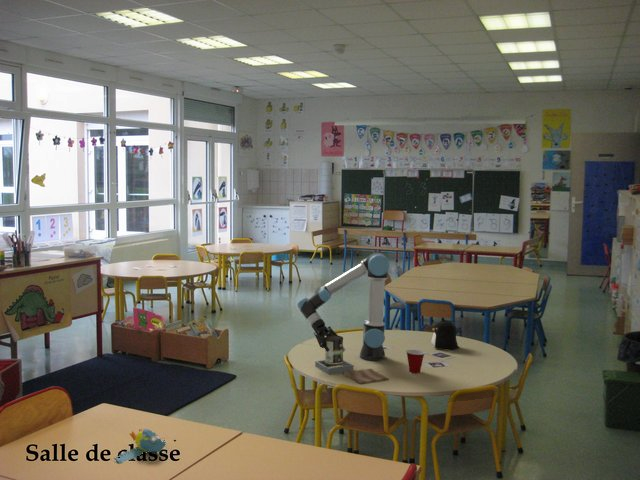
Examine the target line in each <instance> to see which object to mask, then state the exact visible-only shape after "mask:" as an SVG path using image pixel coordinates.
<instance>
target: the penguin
mask: <svg viewBox="0 0 640 480" xmlns="http://www.w3.org/2000/svg"><path fill="white" fill-rule="evenodd" d="M452 322H453V321H451V320H447V319H446V320H445V319H444V320H443V319H442V320H441V321H439V322H437V323H435V325H434V326H433V328H432V329H431V330H432V331H433V334H432V338H431V341H430V342H431V345H432V346H433V347H434V348H435V347H436V349H437V348H439V349H438V350H445V349H451V350H455V349H459V348H460V346H459V345H458V341H457V332H458V331H457V327H456V325H454V323H452ZM454 348H455V349H454Z"/></svg>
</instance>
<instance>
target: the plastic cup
mask: <svg viewBox="0 0 640 480" xmlns="http://www.w3.org/2000/svg"><path fill="white" fill-rule="evenodd" d="M405 352H406V355H407V365H408V370H409V373H410V372H411V374H420V373H421V369H422V365H423V360H424V356H425V354H426V352H425V351H423V350H419V349H406V351H405Z"/></svg>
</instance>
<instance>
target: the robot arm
mask: <svg viewBox="0 0 640 480" xmlns="http://www.w3.org/2000/svg"><path fill="white" fill-rule="evenodd" d="M389 268H390V261H389V259H388V258H387V256H386V254H385V253H382V252H380V251H375V252H373V253H371V254H370V255H368V256H367V257H366V258H364V259H361V262H360V263H359V264H357V265H356V266H354V267H351V268H350V269H349V270H347V271H345V272H344V273H342V274H340V275H338V276H337V277H336V278H334V279H331V281H329V282H327V283H325V284H324V285H322V286H319V287H318V288H316V290H315V291H314V294H313V295H312V296H311V297H310V298H307V297H305V298H302V299H300V300H299V301H298V302H297V308H298V310H299V311H300V313H301V314H302V316H303V317H304V319H305V320H306V321H307V322H308V323H309V325H310V326H311V328H312V330H313V331H314V332H313V335H314V336H315V339H316V341H317V343H318V345H319V348H321V349H324V350H326V351H327V352H328V353H329V355H330V356H331V357H332V356H333V355H334V352H333V351H332V350H331V348H330V347H329V345H327V344H326V340H325V337H327V336H334V335H335V336H339V335H338V334H337V332H335V331H334V329H332V327H331V326H328V327H327V326H326V323H325V321H324V319H323V318H322V317H321V316H320V313H318V311H317V310H318V309H319V308H320V307H321V306H324V304H326V303H327V302H328V301H329V300H331V298H332V296H333V295H335V294H336V293H338V292H340V291H341V290H343V289H345V288H346V287H348V286H350V285H351V284H353V283H355V282H357V281H358V280H360V279H362V278H363V277H365V276H367V278H368V279H369V291H368V306H367V307H368V310H367V319H364V320H363V325H362V326H363V334H362V335H363V337H362V347H361V349H360V352H359V358H361V359H362V360H367V361H381V360H385V358H386V353H385V349H384V346H383V344H384V342H385V341H386V340H385V339H386V336H385V335H386V334H385V328H386V327H385V326H386V323H385V322H384V321H383V319H384V300H385V299H384V298H385V282H386V280H388V277H389V270H390V269H389ZM345 351H346V348H345V347H344V346H343V353H344V352H345Z"/></svg>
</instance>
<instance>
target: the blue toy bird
mask: <svg viewBox="0 0 640 480" xmlns="http://www.w3.org/2000/svg"><path fill="white" fill-rule="evenodd" d="M129 436H130V437H131V438H132V440H133V441H135V442H134V443H135V445H136V446H135V447H134V448H132V449H131V448H130V449H129V450H127V451H124V452H123V453H119V454H118V455H119V456H118V455H117V456H118V457H120V458H117V456H115V457H116V458H115V459H116V461H117V462H116V463H118V464H119V465H120V464H123V463H125V462H128V461H130V460H134V459H136V458H138V457H137V456H139V457H141V456H142V455H141V454H142V452H147V451H149V452H148V453H151V452H153V453H159V452H161V451H162V450H163V449H164V448H165V447H166V446H167V445H166V444H165V443H166V442H164V441H165V440H163V442H162V441H161V439H162V438H161V437H160V436H159V435H157V433H156V432H155V431H152V430H150V429H149V428H138V432H137V433H135V432H134V431H131V432H130V433H129ZM165 445H166V446H165ZM140 455H141V456H140ZM135 457H136V458H135ZM133 458H134V459H133ZM115 459H114V460H115ZM127 460H128V461H127ZM122 461H123V462H122Z"/></svg>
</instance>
